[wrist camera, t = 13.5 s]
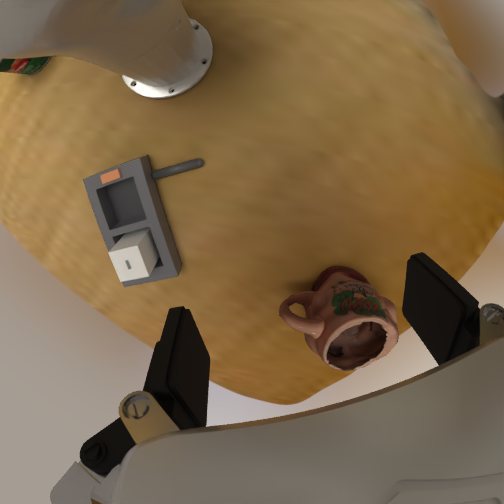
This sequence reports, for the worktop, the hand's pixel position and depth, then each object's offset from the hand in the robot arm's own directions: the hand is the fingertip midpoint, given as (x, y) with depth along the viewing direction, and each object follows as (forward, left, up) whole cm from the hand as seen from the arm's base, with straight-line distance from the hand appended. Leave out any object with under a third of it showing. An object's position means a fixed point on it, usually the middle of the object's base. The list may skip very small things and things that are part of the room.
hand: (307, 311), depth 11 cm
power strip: (+1, -14, -28) cm, 32 cm away
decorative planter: (+20, +8, -28) cm, 36 cm away
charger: (+5, -18, -28) cm, 34 cm away
